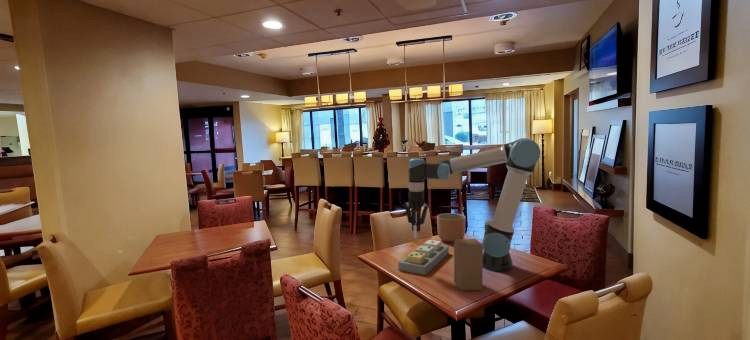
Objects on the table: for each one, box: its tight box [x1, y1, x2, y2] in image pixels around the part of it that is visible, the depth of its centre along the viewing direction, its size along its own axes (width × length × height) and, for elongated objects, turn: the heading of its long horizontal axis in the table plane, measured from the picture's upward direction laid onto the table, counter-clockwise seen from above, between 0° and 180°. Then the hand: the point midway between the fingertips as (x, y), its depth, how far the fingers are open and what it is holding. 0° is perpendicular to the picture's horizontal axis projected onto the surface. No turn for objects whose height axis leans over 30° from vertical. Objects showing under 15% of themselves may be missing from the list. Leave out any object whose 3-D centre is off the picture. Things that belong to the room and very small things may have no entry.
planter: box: [436, 212, 467, 244], centre depth 221 cm, size 17×17×15 cm
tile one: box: [423, 239, 442, 251], centre depth 197 cm, size 7×7×4 cm
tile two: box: [415, 244, 434, 257], centre depth 187 cm, size 7×7×4 cm
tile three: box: [406, 251, 426, 265], centre depth 178 cm, size 7×7×4 cm
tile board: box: [398, 243, 449, 276], centre depth 188 cm, size 14×34×4 cm, turn 150°
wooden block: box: [453, 238, 484, 292], centre depth 156 cm, size 10×10×20 cm
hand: (416, 237), depth 178 cm, fingers closed
